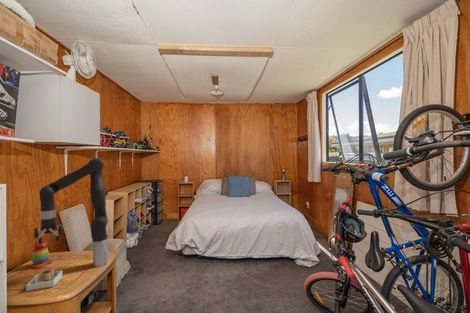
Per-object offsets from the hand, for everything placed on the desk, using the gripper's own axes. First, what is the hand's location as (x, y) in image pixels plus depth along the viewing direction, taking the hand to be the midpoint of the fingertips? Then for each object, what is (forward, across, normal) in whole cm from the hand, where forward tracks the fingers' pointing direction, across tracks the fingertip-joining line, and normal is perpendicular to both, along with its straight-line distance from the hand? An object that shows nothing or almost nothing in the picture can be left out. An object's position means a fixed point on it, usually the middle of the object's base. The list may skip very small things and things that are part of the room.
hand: (49, 242), depth 144 cm
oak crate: (+21, 0, +8) cm, 23 cm away
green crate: (+22, 0, +8) cm, 23 cm away
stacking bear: (+22, +13, -22) cm, 34 cm away
